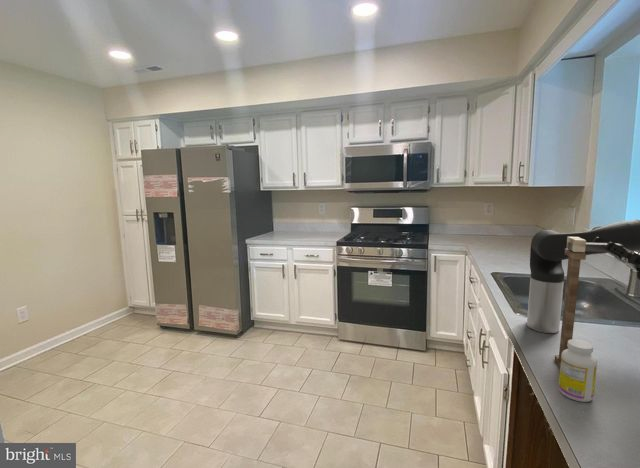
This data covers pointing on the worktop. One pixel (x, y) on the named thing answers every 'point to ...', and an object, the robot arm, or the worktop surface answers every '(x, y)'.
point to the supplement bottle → (578, 371)
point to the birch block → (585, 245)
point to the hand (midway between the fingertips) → (600, 242)
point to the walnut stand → (569, 299)
